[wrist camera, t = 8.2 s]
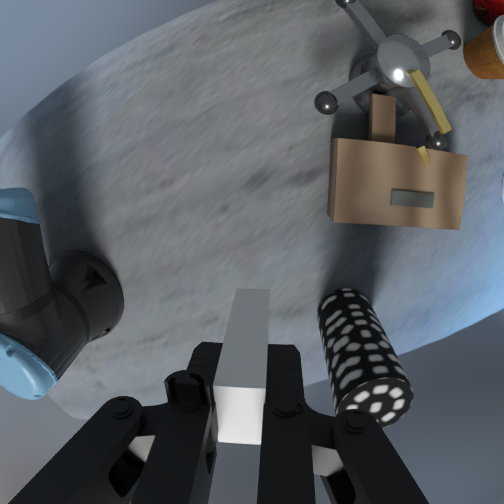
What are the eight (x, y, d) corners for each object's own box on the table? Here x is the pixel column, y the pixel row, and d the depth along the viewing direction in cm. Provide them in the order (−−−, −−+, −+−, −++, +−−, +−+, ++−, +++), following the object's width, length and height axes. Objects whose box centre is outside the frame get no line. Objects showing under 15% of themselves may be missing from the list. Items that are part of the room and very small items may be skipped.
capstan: (261, 49, 36) (256, 18, 25) (388, -11, 31) (416, -45, 20) (352, 185, 41) (378, 200, 30) (468, 115, 36) (514, 113, 25)
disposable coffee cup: (491, 34, 31) (535, 18, 19) (506, 89, 33) (554, 84, 22) (447, 30, 32) (489, 7, 21) (463, 89, 35) (512, 80, 23)
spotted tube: (318, 289, 46) (341, 381, 27) (373, 287, 46) (422, 372, 27) (315, 337, 49) (331, 435, 30) (366, 334, 48) (402, 427, 29)
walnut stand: (327, 213, 43) (334, 223, 37) (331, 94, 37) (339, 87, 32) (443, 221, 41) (461, 231, 36) (450, 112, 36) (471, 110, 31)
